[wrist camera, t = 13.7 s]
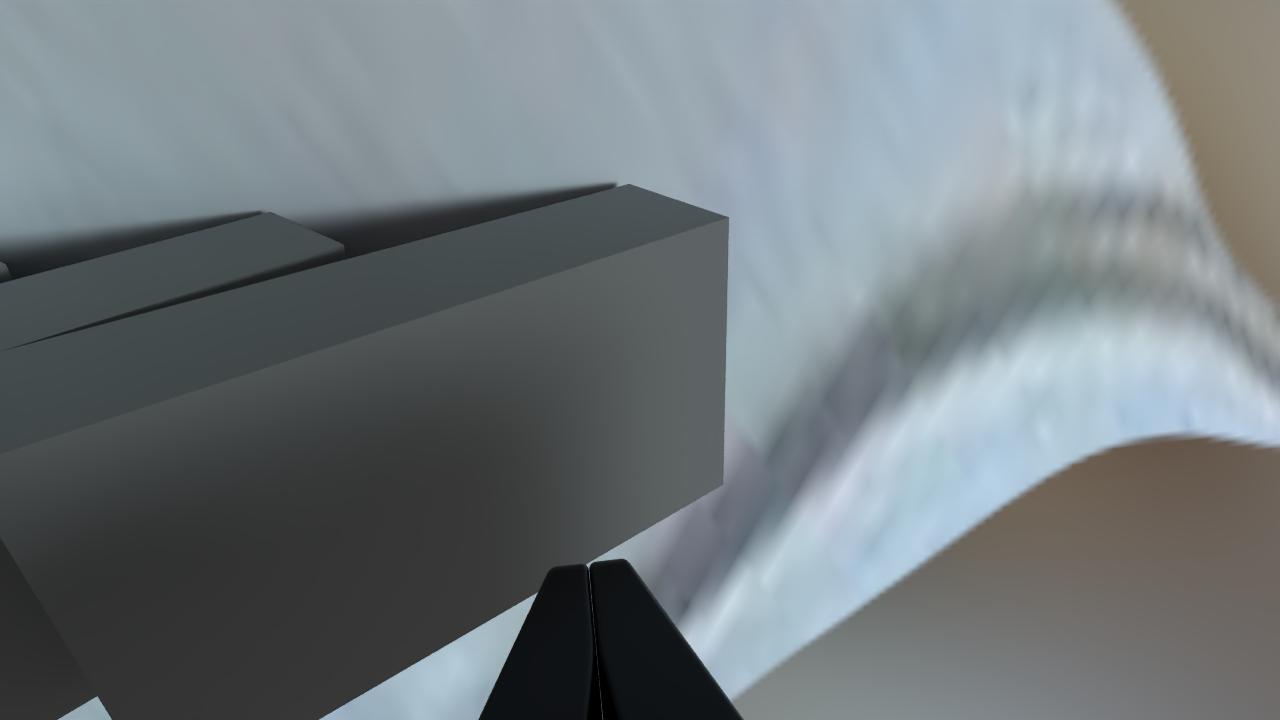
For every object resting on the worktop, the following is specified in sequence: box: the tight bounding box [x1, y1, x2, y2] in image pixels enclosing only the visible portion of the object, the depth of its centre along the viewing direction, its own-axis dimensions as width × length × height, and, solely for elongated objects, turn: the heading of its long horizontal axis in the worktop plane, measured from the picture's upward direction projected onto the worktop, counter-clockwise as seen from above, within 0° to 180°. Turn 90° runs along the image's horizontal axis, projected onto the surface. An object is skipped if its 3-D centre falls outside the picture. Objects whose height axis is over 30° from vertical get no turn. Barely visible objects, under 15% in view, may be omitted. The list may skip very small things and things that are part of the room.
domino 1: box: [0, 212, 347, 720], centre depth 10 cm, size 2×5×9 cm
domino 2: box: [0, 184, 729, 720], centre depth 11 cm, size 2×5×9 cm
